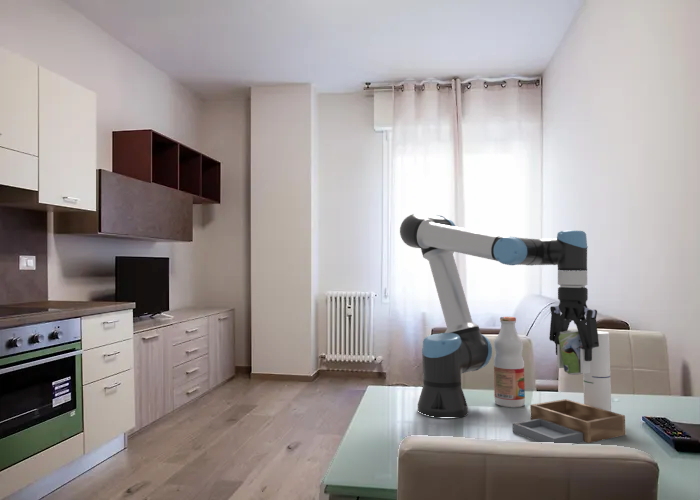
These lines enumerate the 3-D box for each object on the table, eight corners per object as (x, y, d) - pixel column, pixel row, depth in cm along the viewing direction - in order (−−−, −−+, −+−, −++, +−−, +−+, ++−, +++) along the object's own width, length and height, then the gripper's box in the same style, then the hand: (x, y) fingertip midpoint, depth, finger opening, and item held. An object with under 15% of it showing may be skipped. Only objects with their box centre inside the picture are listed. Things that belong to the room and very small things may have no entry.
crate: (530, 422, 142) (530, 404, 142) (566, 416, 148) (565, 399, 148) (588, 443, 125) (587, 422, 125) (625, 434, 131) (624, 415, 131)
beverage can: (590, 377, 134) (590, 332, 134) (561, 375, 135) (561, 331, 136) (584, 372, 140) (584, 329, 140) (556, 371, 141) (556, 328, 142)
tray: (512, 431, 134) (512, 423, 134) (540, 426, 138) (540, 418, 138) (554, 448, 121) (554, 438, 122) (583, 442, 126) (583, 432, 126)
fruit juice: (492, 399, 167) (490, 315, 169) (521, 400, 166) (519, 316, 168) (497, 407, 158) (495, 318, 159) (528, 408, 157) (526, 318, 158)
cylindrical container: (610, 423, 140) (608, 334, 142) (582, 420, 144) (580, 332, 145) (612, 417, 147) (610, 331, 148) (585, 414, 150) (583, 330, 151)
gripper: (614, 287, 131) (615, 376, 130) (553, 285, 149) (554, 362, 148) (594, 288, 128) (595, 378, 127) (534, 285, 146) (535, 364, 145)
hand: (573, 370), depth 138 cm, fingers closed on beverage can, 7 cm apart
